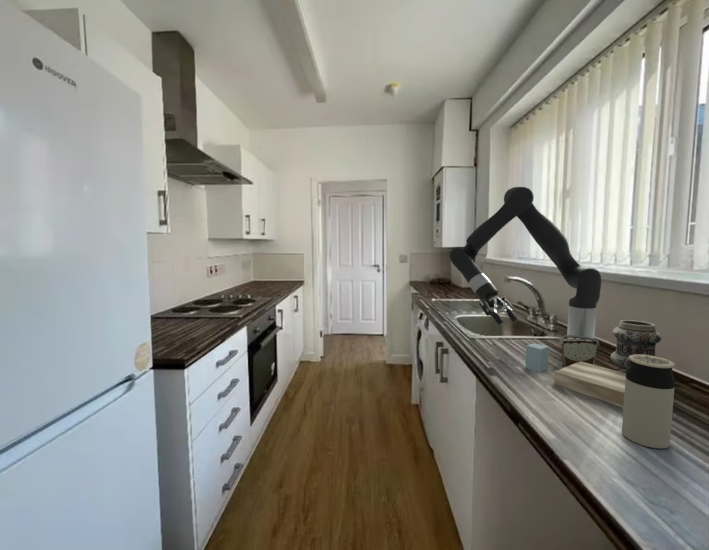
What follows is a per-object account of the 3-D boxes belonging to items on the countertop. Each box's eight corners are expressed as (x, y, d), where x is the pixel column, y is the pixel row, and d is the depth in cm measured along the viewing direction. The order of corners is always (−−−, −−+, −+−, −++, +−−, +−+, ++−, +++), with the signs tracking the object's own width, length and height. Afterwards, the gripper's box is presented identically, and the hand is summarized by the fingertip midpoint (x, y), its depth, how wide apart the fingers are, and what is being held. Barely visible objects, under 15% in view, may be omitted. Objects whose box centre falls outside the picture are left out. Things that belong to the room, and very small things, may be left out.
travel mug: (674, 454, 68) (681, 369, 67) (624, 442, 73) (630, 362, 71) (664, 435, 75) (670, 357, 73) (619, 425, 79) (624, 351, 78)
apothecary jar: (650, 373, 110) (654, 320, 108) (665, 388, 99) (670, 328, 97) (605, 368, 115) (608, 316, 113) (615, 381, 104) (618, 324, 102)
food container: (587, 361, 121) (589, 334, 120) (597, 368, 115) (599, 339, 114) (551, 360, 123) (553, 334, 122) (560, 367, 117) (561, 339, 116)
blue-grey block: (533, 365, 119) (534, 343, 118) (547, 369, 115) (548, 346, 114) (525, 367, 116) (526, 345, 115) (539, 372, 112) (540, 349, 111)
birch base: (579, 373, 111) (580, 361, 111) (648, 393, 96) (650, 379, 96) (554, 384, 103) (554, 371, 102) (625, 408, 87) (626, 393, 87)
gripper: (477, 282, 126) (503, 318, 117) (500, 280, 133) (527, 313, 125) (465, 295, 131) (489, 330, 122) (488, 292, 138) (513, 324, 130)
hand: (508, 321), depth 123 cm, fingers open, 8 cm apart
